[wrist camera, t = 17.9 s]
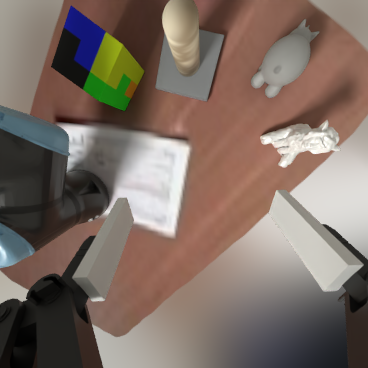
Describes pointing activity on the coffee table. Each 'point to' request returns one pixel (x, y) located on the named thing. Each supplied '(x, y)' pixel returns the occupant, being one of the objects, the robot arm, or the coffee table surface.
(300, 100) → the coffee table surface
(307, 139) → the sitting furry creature
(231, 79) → the coffee table surface
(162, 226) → the coffee table surface
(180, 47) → the birch tool handle
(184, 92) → the board
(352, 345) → the robot arm
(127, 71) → the puzzle toy
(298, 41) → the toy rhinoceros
